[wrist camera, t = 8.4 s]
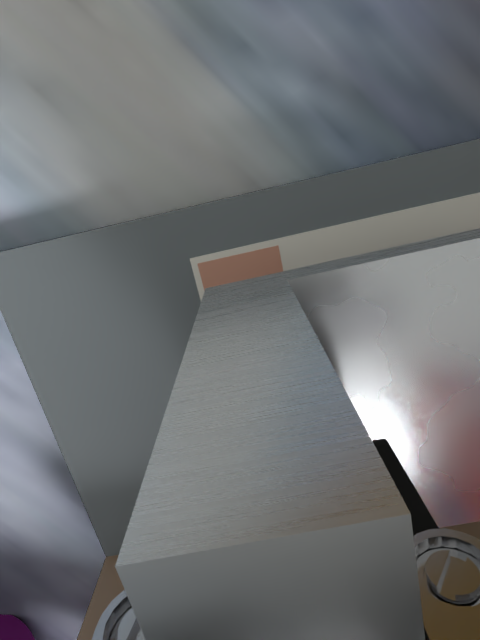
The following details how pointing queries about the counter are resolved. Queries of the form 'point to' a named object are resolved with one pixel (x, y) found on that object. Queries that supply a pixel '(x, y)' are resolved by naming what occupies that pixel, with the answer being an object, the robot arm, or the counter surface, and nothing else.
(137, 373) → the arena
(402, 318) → the bracket
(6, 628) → the mounting bracket
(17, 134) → the counter surface
